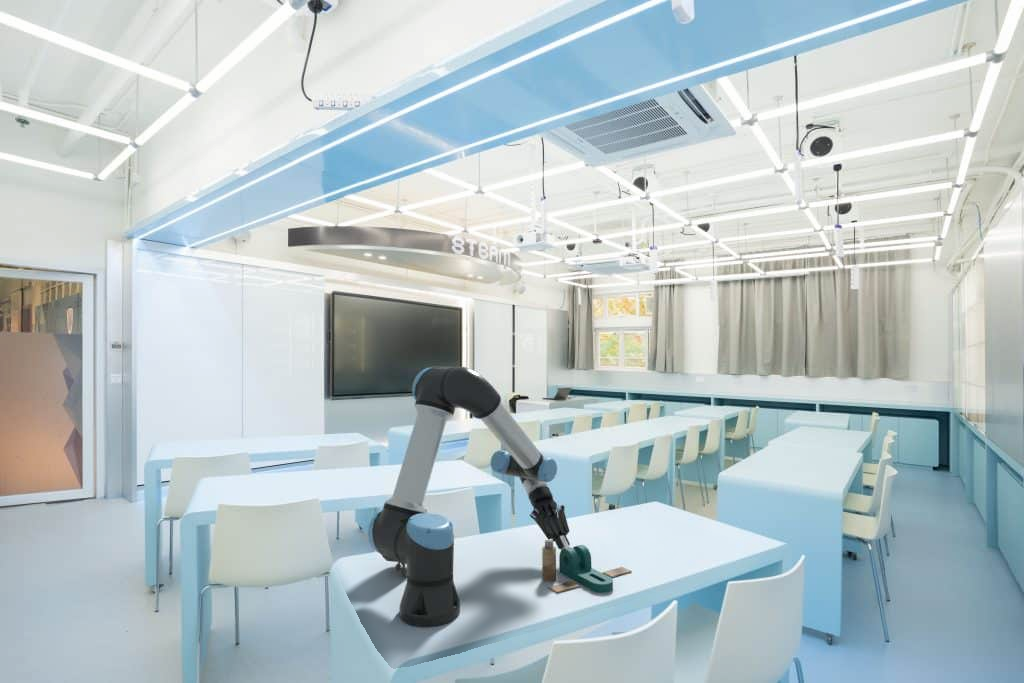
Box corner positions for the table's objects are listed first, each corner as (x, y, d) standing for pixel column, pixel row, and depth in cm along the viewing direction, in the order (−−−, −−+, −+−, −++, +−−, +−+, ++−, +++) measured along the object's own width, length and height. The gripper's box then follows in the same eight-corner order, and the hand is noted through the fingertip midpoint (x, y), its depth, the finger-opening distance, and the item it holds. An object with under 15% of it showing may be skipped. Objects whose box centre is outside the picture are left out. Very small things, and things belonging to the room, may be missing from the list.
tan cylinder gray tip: (547, 583, 154) (547, 544, 155) (539, 578, 158) (539, 540, 158) (559, 580, 156) (558, 541, 157) (551, 575, 160) (550, 537, 160)
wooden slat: (557, 593, 147) (557, 591, 147) (548, 588, 151) (548, 586, 151) (631, 572, 162) (631, 570, 162) (622, 568, 166) (622, 566, 166)
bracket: (559, 572, 162) (559, 546, 162) (576, 568, 165) (576, 542, 166) (599, 594, 146) (599, 565, 147) (617, 589, 150) (617, 560, 150)
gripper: (549, 495, 186) (580, 559, 171) (517, 500, 179) (547, 567, 164) (558, 482, 181) (591, 547, 167) (526, 487, 174) (557, 555, 160)
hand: (569, 557), depth 165 cm, fingers closed
